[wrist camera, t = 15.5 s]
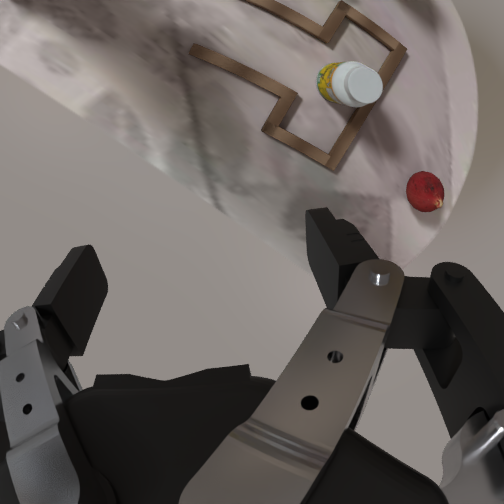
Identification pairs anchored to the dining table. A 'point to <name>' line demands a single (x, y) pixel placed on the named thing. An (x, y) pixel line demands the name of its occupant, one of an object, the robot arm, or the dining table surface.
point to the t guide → (287, 95)
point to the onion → (425, 191)
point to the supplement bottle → (349, 84)
